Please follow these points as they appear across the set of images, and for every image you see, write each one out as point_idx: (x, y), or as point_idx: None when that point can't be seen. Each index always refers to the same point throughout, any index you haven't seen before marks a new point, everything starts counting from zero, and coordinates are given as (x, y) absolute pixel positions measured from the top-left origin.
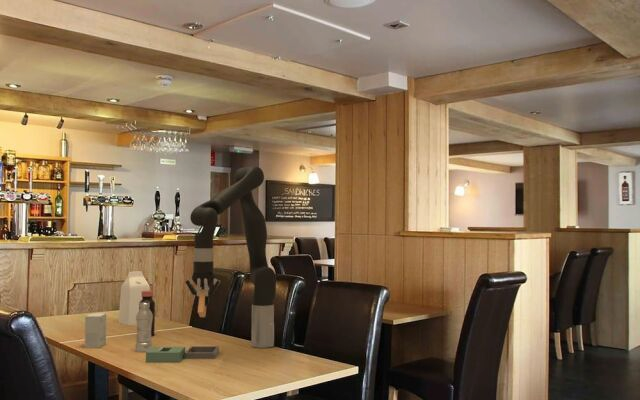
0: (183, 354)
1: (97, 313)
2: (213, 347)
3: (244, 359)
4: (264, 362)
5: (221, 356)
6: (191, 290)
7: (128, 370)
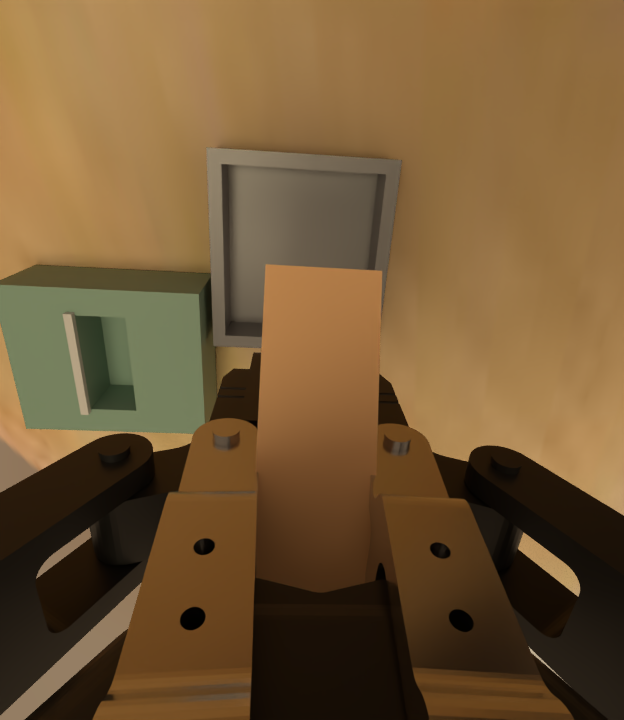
0: (207, 329)
1: None
2: (364, 172)
3: (524, 267)
4: (607, 334)
5: (404, 185)
6: (66, 604)
7: (17, 448)
